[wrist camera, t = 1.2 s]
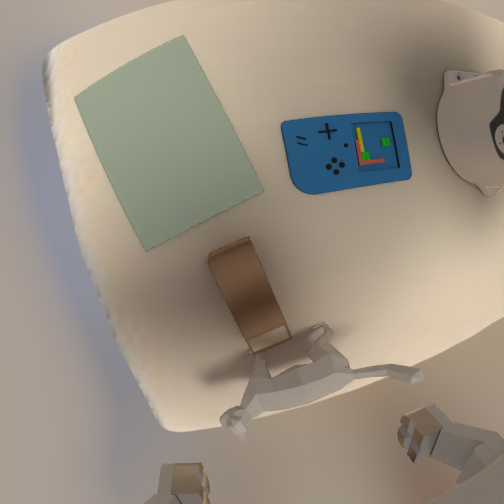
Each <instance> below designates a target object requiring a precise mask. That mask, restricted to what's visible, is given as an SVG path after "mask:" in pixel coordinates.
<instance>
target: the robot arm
mask: <svg viewBox="0 0 504 504" xmlns="http://www.w3.org/2000/svg"><path fill="white" fill-rule="evenodd" d="M437 123H438V132H439V137H440V141H441V144H442V148H443V150H444V153H445V155H446V157H447V159H448V161H449V163H450V165H451V166H452V168H453V169H454V170H455V171H456V173H457V174H458V175H459V176H460V177H461V178H463V179H464V180H466V181H468V182H470V183H472V184H475V185H476V186H478V188H479V189H480V190H481V191H482V192H483V194H484V195H486V196H493V195H494V194H495V193H496V191H497V190H498V189H499V188H504V70H495V71H490V72H487V74H484V73H476V72H467V71H457V70H449V71H446V72H445V73H444V91H443V94H442V97H441V99H440V102H439V106H438V114H437ZM400 422H401V424H402V425H401V426H400V427H399V429H398V433H397V434H398V440H399V443H400V444H401V446H402V447H403V448H406V449H408V452H407V455H408V456H409V458H410V459H411V461H412V462H413V463H416V462H419V461H421V460H423V459H425V458H427V457H431V458H433V459H435V460H437V461H440V462H442V463H444V464H447V465H449V466H451V467H453V468H456V469H458V470H460V471H462V472H461V474H460V475H459V477H458V478H457V481H456V482H457V484H458V486H456V487H455V488H453V489H451V490H450V491H448V492H446V493H444V494H443V495H441V496H439V497H437V498H436V499H433V500H432V501H430V502H428V503H426V504H504V439H503V438H502V437H501V436H500V435H499V434H498V433H497V432H494V431H490V430H486V429H482V428H477V427H473V426H470V425H466V424H462V423H458V422H454V423H452V422H451V420H449V418H448V417H447V416H446V415H445V414H444V413H443V412H442V411H441V410H440V409H439V408H438V407H437V406H436V405H435V404H434V403H430V404H428V405H426V406H424V407H421V408H419V409H416V410H415V411H412V412H410V413H407V414H405V415H403V416H402V417H401V420H400ZM209 494H210V486H209V480H208V477H207V475H206V473H204V472H203V465H202V463H201V462H200V463H163V464H162V466H161V471H160V478H159V486H158V493H157V494H154V495H153V496H152V497H151V498H150V499H149V500H148V501H147V502H146V503H145V504H210V500H209V498H208V495H209Z"/></svg>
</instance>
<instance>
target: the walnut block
mask: <svg viewBox="0 0 504 504" xmlns="http://www.w3.org/2000/svg"><path fill="white" fill-rule="evenodd" d="M208 265H209V267H210V269H211V272H212V274H213V276H214V278H215V280H216V282H217V284H218V286H219V288H220V290H221V292H222V294H223V296H224V298H225V300H226V302H227V304H228V306H229V308H230V310H231V312H232V314H233V316H234V318H235V320H236V322H237V324H238V326H239V328H240V330H241V332H242V334H243V336H244V338H245V340H246V342H247V344H248V346H249V348H250V350H251V352H252V354H253V355H254V354H257V353H259V352H262V351H264V350H267V349H269V348H272V347H274V346H277V345H279V344H282V343H284V342H286V341H289V340H291V339H293V338H292V336H291V333H290V331H289V329H288V326H287V324H286V322H285V319H284V317H283V315H282V312H281V310H280V308H279V305H278V303H277V301H276V298H275V296H274V294H273V291H272V289H271V287H270V284H269V282H268V280H267V277H266V275H265V273H264V271H263V268H262V266H261V264H260V261H259V259H258V257H257V254H256V252H255V250H254V247H253V245H252V243H251V240H250V238H249V236H248V237H245V238H243V239H241V240H238V241H236V242H234V243H231V244H229V245H227V246H225V247H222V248H220V249H218V250H215V251H213V252H211V253H210V255H209V259H208Z"/></svg>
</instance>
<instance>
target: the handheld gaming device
mask: <svg viewBox="0 0 504 504" xmlns="http://www.w3.org/2000/svg"><path fill="white" fill-rule="evenodd" d="M281 130H282V135H283V139H284V144H285V149H286V154H287V159H288V165H289V170H290V175H291V179H292V181H293V183H294V184H295V186H296V187H297V188H298V189H299V190H301V191H302V192H305V193H308V194H321V193H327V192H333V191H338V190H344V189H350V188H356V187H362V186H369V185H375V184H381V183H388V182H395V181H402V180H408V179H410V178H411V176H412V172H411V165H410V158H409V152H408V147H407V141H406V136H405V131H404V126H403V121H402V117H401V115H400V114H399V113H397V112H380V113H360V114H346V115H334V116H323V117H314V118H305V119H297V120H289V121H284V122H283V123H282V124H281Z"/></svg>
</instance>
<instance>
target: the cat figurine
mask: <svg viewBox="0 0 504 504" xmlns="http://www.w3.org/2000/svg"><path fill="white" fill-rule="evenodd" d="M321 326H323V328H324V330H325V333H324V334H323V335H322V336H321V337H319V338H318V339H317V340H316V341H315V342H314V343H313V345H312V346H311V348H310V349H309V351H308V352H307V354H308V356H309V357H310V359H311V360H312V361H313V363H310V364H304V365H296V366H293V367H291V368H289V369H287V370H286V371H284V372H282V373H280V374H278V375H276V376H275V377H273V378H272V377H271V375H270V373H269V370H268V369H267V368H265V361H264V358H263V356H262V353H261V352H259V353H257V354H256V356H255V365H254V368H253V371H252V374H251V377H250V380H249V382H248V385H247V388H246V390H245V393H244V396H243V398H242V402H241V405H240V406H235V407H233V408H231V409H228V410H227V411H226V412H225V413H224V414H223V415H222V416H221V417H220V423H221V424H222V425H223V426H227V427H228V428H229V429H230V430H231V431H232V432H234V433H235V434H236V435H237V437H238V438H239V439H240V440H241V441H242V442H243V441H244V438H245V436H246V433H247V428H248V425H249V423H250V421H251V419H253V418H254V417H256V416H257V415H259V414H260V413H262V412H263V411H274V410H284V409H288V408H292V407H297V406H301V405H305V404H309V403H311V402H313V401H315V400H317V399H319V398H321V397H324V396H326V395H328V394H330V393H333V392H335V391H337V390H340V389H341V388H343V387H344V386H346V385H347V384H348V383H350V382H351V381H353V380H354V379H360V378H367V377H385V376H388V377H391V378H394V379H397V380H401V381H403V382H407V383H411V384H415V383H418V382H421V381H423V371H422V370H421V369H418V368H413V367H408V366H402V365H395V364H386V365H377V366H370V367H365V368H360V369H355V370H353V369H350V367H349V362H348V359H347V358H345V357H344V356H343V355H342V354H341V353H340V352H339V351H338V350H337V349H336V348H334V347H333V346H332V345H331V344H330V342H331V339H332V335H333V332H332V330H331V329H330V327H329V326H328V325H327V324H325V323H324V322H323V323H320V324H318V325H315V326H313V327H312V329H313V330H314V329H316V328H319V327H321ZM251 353H252V352H251V350H248V354H251Z"/></svg>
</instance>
